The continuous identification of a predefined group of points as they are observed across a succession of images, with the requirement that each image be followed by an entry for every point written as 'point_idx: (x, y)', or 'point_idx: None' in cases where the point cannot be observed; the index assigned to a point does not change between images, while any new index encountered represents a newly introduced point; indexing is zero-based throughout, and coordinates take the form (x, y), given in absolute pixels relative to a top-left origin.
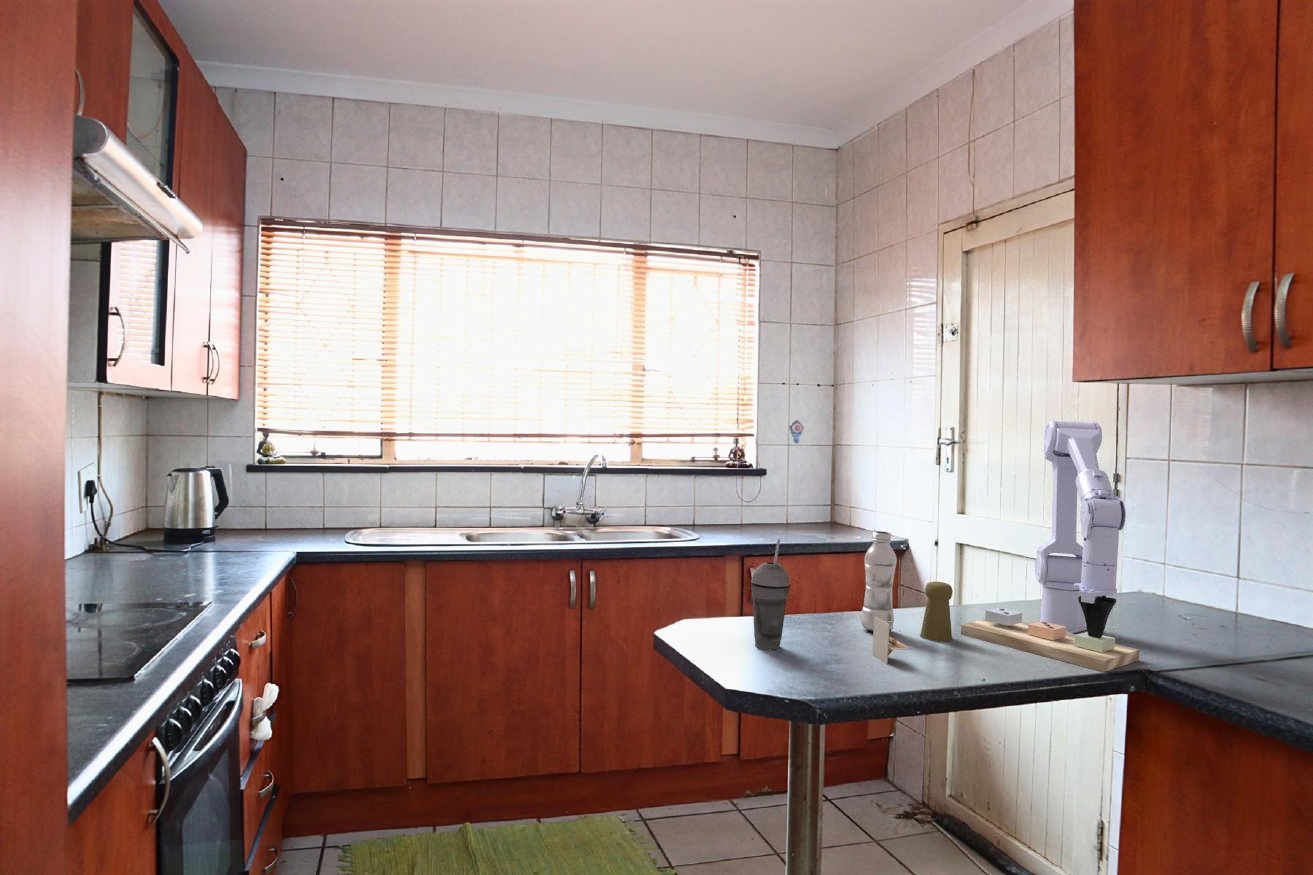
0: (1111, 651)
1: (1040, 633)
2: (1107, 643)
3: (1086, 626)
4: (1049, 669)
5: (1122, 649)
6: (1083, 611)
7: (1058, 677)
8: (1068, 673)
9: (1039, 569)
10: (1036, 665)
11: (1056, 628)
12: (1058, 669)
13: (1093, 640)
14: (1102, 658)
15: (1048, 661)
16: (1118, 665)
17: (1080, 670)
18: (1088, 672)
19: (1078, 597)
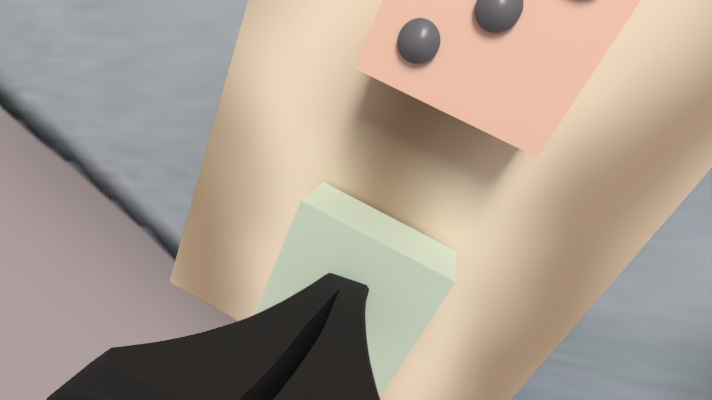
0: None
1: None
2: None
3: (304, 288)
4: (87, 73)
5: (419, 384)
6: (209, 330)
7: (23, 109)
8: (92, 142)
9: None
10: (100, 18)
11: (424, 86)
12: (113, 107)
13: (268, 283)
14: (198, 278)
15: (195, 62)
16: None
17: (160, 184)
18: (156, 209)
19: (78, 385)
